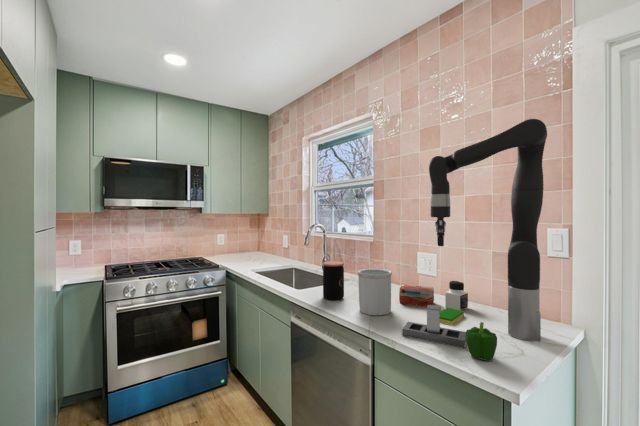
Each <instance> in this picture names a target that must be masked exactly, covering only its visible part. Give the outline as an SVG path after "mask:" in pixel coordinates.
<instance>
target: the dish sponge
mask: <svg viewBox="0 0 640 426" xmlns="http://www.w3.org/2000/svg"><path fill="white" fill-rule="evenodd" d="M464 317H465V311H464V310H462V311H460V310H455V309H450V308H446V307H445V309H443V310H440V323H442V324H447V325H450V326H453V325H454V324H456V323H457V322H458V321H459V320H461V319H462V318H464Z"/></svg>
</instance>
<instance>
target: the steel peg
mask: <svg viewBox="0 0 640 426" xmlns="http://www.w3.org/2000/svg"><path fill="white" fill-rule="evenodd" d="M440 312H441V306H440V305H434V304H433V305H428V306H427V307H426V325H427V332H429V333H434V334H439V335H440V327H441V322H440Z"/></svg>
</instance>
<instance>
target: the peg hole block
mask: <svg viewBox="0 0 640 426" xmlns="http://www.w3.org/2000/svg"><path fill="white" fill-rule="evenodd" d="M465 333H466V331H463V330H456V329H452V328H451V329H450V328H446V327H441V326H440V335H439V334H434V333H429V332H427V324H423V323H417V322H412V321H407V322H406V323H405V325H404V326H403V327H402V328H401V334H402V335H403V337H407V336H408V338H412V339H418V340H422V341H428V342H433V343H437V344H443V345H448V346H451V347H452V346H453V347H457V348H462V349H465V347H466V345H467V343H466V335H465Z"/></svg>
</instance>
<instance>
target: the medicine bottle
mask: <svg viewBox="0 0 640 426" xmlns="http://www.w3.org/2000/svg"><path fill="white" fill-rule="evenodd" d="M448 283H449V289H448V291H445V294H444V297H445V301H444V302H445V306H444V307H445V309H446V308H450V309H455V310H460V311H464V310H465V309H468V307H469V304H468V303H469V299H468V296H469V292H466V291H465V284H464V282H462V281H460V280H450V281H449V282H448Z"/></svg>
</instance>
